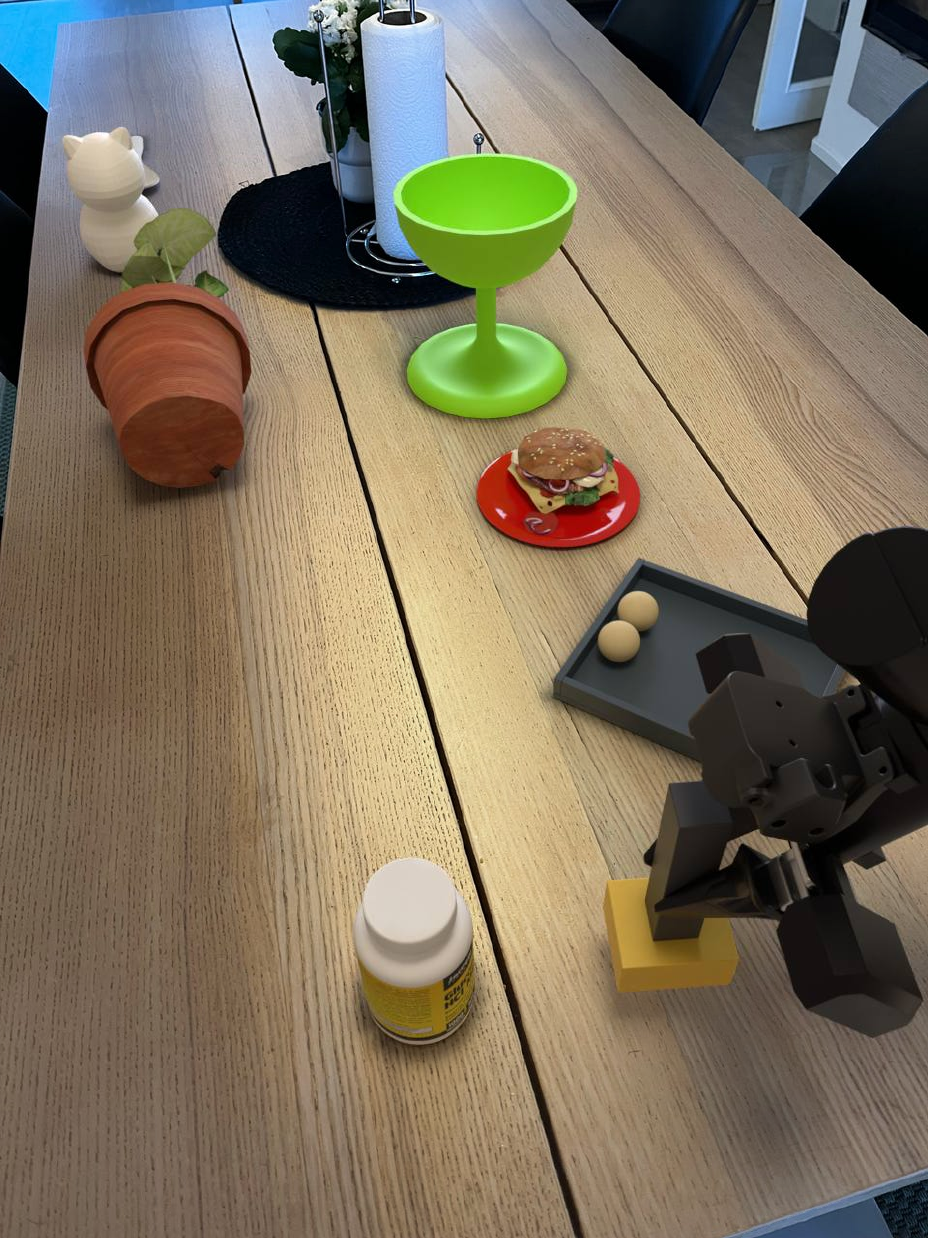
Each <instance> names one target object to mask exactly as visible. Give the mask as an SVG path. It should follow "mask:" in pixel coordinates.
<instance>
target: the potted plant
mask: <svg viewBox="0 0 928 1238" xmlns="http://www.w3.org/2000/svg"><path fill="white" fill-rule="evenodd" d="M216 234H217V233H216V230H215V228H214V226H213V225H212V224H211V223H210V221H209V219H208V218H207V217H206V216H204V215H202V214H201V213H199V212H198V211H196V210H193V209H190V208H187V207H179V208H170V209H169V210H167V211H166V212H164V213H161V214H158V216H157V217H156V218H155V219H154V220H153V221H151V222H148V223H146V224H145V225H144V226H143V227H142V228H141V229H140V230H139V232H138V234H137V235H136V238H134V245H135V247H136V248H137V251H136V252H135V253H134V254H133V255H132V257H131V258H130V259H129V261H128V262H127V264H126V266H125V268H124V270H123V272H121V276H122V277H121V278H122V279H120V285H119V293H117V294H116V295H115V296H113V298H111V299H110V300H108V302H106V303H104V304H103V305H102V306H101V307H99V309H98V310H97V312H96V313H95V315H94V316H93V318H92V320H91V321H90V323H89V324H88V326H87V328H86V333H85V338H84V343H83V355H84V362H85V369H86V373H87V377H88V378H87V379H88V382H89V387H90V389H91V391H92V392H93V394H94V395H95V397H96V399H98V401H99V403H100V404H101V406H102V407H103V408H105V410H107V411H108V414H109V419H110V421H111V424H112V427H113V430H114V433H115V437H116V439H117V443H118V446H119V448H120V452H121V455H122V457H123V459H124V460H125V462H126V463H127V465H128V466H129V467H130V468H131V470H132V471H133V472H134V473H136V474H138V475H139V476H140V477H141V478H143V479H144V480H146V481H149V482H151V483H154V484H157V485H160V486H162V487H169V488H171V487H172V488H181V489H183V488H190V487H191V488H192V487H199V486H202V485H206V484H210V483H213V482H216V481H218V479H219V477H220V475H221V473H222V472H223V471H229V472H231V470H233V468H234V467H235V466H236V464H237V463H238V461H239V460H240V459H241V456H242V452H243V449H244V446H245V422H244V420H245V419H244V418H245V417H244V395H245V393H246V391H247V388H248V385H249V382H250V378H251V375H252V364H251V351H250V346H249V342H248V341H249V340H248V336H247V333H246V331H245V328H244V327H243V325H242V323H241V321H240V319H239V316H238V315H237V314H236V313H235V311H234V310H232V308H230V307H229V306H228V305H227V304H226V303H225V302H224V300H222V299H221V298H222V297H224V296H225V294H226V293H229V292H230V289H229V287H228V285H226V284H225V283H224V282H223V281H221V280H220V279H218V278H217V277H215V276H213V275H211V274H210V273H209V272H208V269H206V270H203V271H201V272H200V273H198V274H197V276H196V277H195V279H194V285H190V284H182V283H177V280H178V279H179V277H180V276H181V274H182V273H183V271H184V270H185V269H186V268H187V267H186V266H187V265H188V263H189V262H190V260H191V259H192V258H193V257H195V256H196V255H198V253H200V252H201V251H202V250H203V249H204V248H205V247H206V246H207V245H208V244H210V242H212V241H213V240H215V237H216Z"/></svg>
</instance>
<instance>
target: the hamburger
mask: <svg viewBox="0 0 928 1238" xmlns="http://www.w3.org/2000/svg"><path fill="white" fill-rule="evenodd" d="M476 499H477V503H478V506H479V508H480V510H481V512H482V514H483V516H485V518H486V519H487V520H488V521H489V523H491V524H492V525H493V526H494V527H495V528H497V529H498V530H499V531H501V532H502V533H504V534H506V535H508V536H510V537H511V538H513V539H516V540H519V541H522V542H525V543H528V544H532V545H537V546H542V547H549V548H550V547H551V548H571V547H572V548H573V547H581V546H586V545H589V544H594V543H597V542H600V541H604V540H606V539H608V538H611V537H612V536H613V535H616V534H617V533H619V532H621V530H623V529H624V528H625V527H627V526H628V525H629V524H630V523H631V521H632V520H633V519H634V517H635V516H636V514H637V512H638V510H639V507H640V504H641V490H640V486H639V483H638V481H637V479H636V477H635V475H634V474H633V473H632V472H631V470H630V469H629V468H628V467H627V466H626V465H625V464H624V463H623V462H621V461H620V460H619V459H617V458H615V457H614V454H613V453H612V452H611V451H610V450H609V449H608V448H606V447H605V446H604V445H603V444H602V443H601V442H600V440H599V439H598V438H596V436H594V435H593V434H592V433H590V432H588V431H587V429H578V428H566V427H565V428H564V427H556V426H553V427H544V428H541V429H538V430H537V429H536V430H534V431H533V432H530V433H528V434H527V435H524V437H523V439H522V440H521V442H520V444H519V446H518V448H515V449H513V450H510V451H508V452H506V453H504V454H502V455H501V456H499V457H498V458H496V459H495V460H493V461H492V462H491V463H490V464H489V465H488V466H487V467H486V468H485V470H484V471H483V472H482V474H481V476H480V477H479V479H478V483H477V487H476Z"/></svg>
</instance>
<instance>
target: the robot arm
mask: <svg viewBox="0 0 928 1238" xmlns="http://www.w3.org/2000/svg"><path fill="white" fill-rule="evenodd" d="M805 616H806V620H807V624H808V630H809V633H810V636H811V638H812V640H813V641H814V643H815V644H816V645H817V647H818V648H819V649H820V651H821V652H822V653H824V654H825V655H826V656H828V657H829V658H830V659H831V660H833V661H834V662H835V663H836V664H838V665H839V666H840V667H842V668H843V669H844V670H845V672H847V673H848V675H850V676H852V678H854V679H855V680H857V681H858V682H859V684H858V685H856V684H849V685H847V686H846V687H844V688H842V689H840V690H839V691H836V693H834V694H830V695H826V696H821V697H817V696H814V695H812V694H811V693H809V692H808V691H807V690H806V689H805V686H804V683H803V681H802V678H801V675H800V673H799V670H798V669H797V668H796V667H794V666H793V665H792V664H790V663H789V662H788V661H786V660H785V659H784V658H782V657H781V656H780V655H778V654H777V653H776V652H774V651H773V650H772V649H770V648H769V647H768V646H766V645H765V644H764V643H762V642H761V641H760V640H758V639H757V638H756V637H754V636H753V635H751V634H750V633H735V634H724V635H723V636H721V637H720V638H718V639H717V640H715V641H713V642H712V643H710V644H709V645H707V646H706V647H704V648H703V649H701V650H699V651H698V652H697V653H696V654H695V655H696V658H697V661H698V665H699V668H700V672H701V675H702V679H703V682H704V685H705V689H706V692H707V693H708V694H709V695H710V696H709V697H708V698H707V699H706V700H705V701H704V702H703V703H702V705H701V706H700V707H699V708H698V709H697V710H696V711H695V712H694V713H693V714H692V715H691V716H690V718H689V720H688V727H689V731H690V734H691V736H692V737H694V738H695V741H696V745H697V749H698V752H699V756H700V760H701V762H700V763H701V774H700V775H701V781H703V783H704V786H705V788H706V790H707V791H708V793H709V794H710V795H711V797H712V798H713V799H715V800H716V801H717V802H719V803H720V804H722V805H725V806H727V807H729V811H730V814H731V818H732V821H733V826H732V829H731V832H730V836H729V839H728V842H727V843H730V842H732V841H734V840H736V839H739V838H741V837H743V836H746V835H748V834H751V833H753V832H756V831H759V834H760V836H764V837H766V838H771V839H776V840H781V841H786V842H787V844H788V847H789V849H788V850H786V851H784V852H782V853H781V854H778V855H776V856H774V857H773V858H771V857H769V856H767V855H765V854H764V853H762V852H760V851H758V850H756V849H754V848H753V847H751V846H749V845H748V844H745V843H744V842H742V843H740V845H739V846H738V849H737V851H736V853H735V855H734V858H733V860H732V862H730V864H729V865H727V866H725V867H723V868H721V869H719V871H716V872H714V873H712V874H710V875H708V876H706V877H704V878H701V879H699V880H697V881H695V882H693V883H691V884H689V885H687V886H684V887H682V888H680V889H678V890H676V891H674V892H672V893H670V894H669V895H667V896H666V897H664V898H663V899H661V900H660V901H658V902H657V903H655V904H654V906H653V908H654V912H655V913H656V914H658V915H660V916H662V917H664V918H728V919H760V920H770V921H777V922H778V925H777V927H776V930H775V933H776V935H777V936H776V937H777V939H778V942H779V945H780V950H781V952H782V956H783V959H784V964H785V967H786V970H787V974H788V977H789V980H790V984H791V987H792V990H793V993H794V995H795V996H796V997H797V999H798V1000H799V1002H800V1003H801V1005H802V1006H803V1008H804V1009H805V1010H806V1011H808V1012H811V1013H813V1014H816V1015H818V1016H820V1017H822V1018H825V1019H827V1020H829V1021H831V1022H834V1023H836V1024H839V1025H841V1026H843V1027H845V1028H847V1029H851V1030H853V1031H854V1032H858V1033H859V1034H862V1035H865V1036H866V1037H868V1038H871V1039H874V1038H877V1037H880V1036H883V1035H885V1034H888V1033H891V1032H893V1031H894V1032H895V1031H897V1030H899V1029H902V1028H905V1027H907V1026H909V1024H910V1023H911V1021H913V1019H914V1017H915V1016H916V1014H917V1012H918V1010H919V1009H920V1007H921V1006H922V1004H923V1002H925V1001H924V997H923V994H922V992H921V990H920V987H919V984H918V982H917V979H916V976H915V974H914V972H913V968H912V966H911V964H910V961H909V958H908V955H907V953H906V949H905V947H904V945H903V942H902V939H901V937H900V935H899V931H898V929H897V927H896V924H895V923H894V922H893V921H890V920H889V919H887V918H885V917H884V916H882V915H880V914H878V913H876V912H875V911H873V910H872V909H869V908H868V907H865V906H864V905H862V904H860V901H859V899H858V896H857V893H856V891H855V888H854V885H853V882H852V880H851V878H850V876H849V875H848V872H847V871H846V869H845V866H844V865H846V864H848V863H851V862H853V863H855V864H856V865H858V866H859V867H861V868H862V869H865V870H866V871H868V870H870V869H872V868H874V867H876V866H878V865H881V864H883V863H886V862H887V858H886V856H885V852H884V850H883V849H882V847H884V846H886V845H889V844H890V843H893V842H895V841H897V840H899V839H901V838H904V837H905V836H908V835H910V834H913V833H914V832H916V831H918V830H920V829H923V828H924V827H926V826H928V528H924V527H921V526H912V525H911V526H909V525H902V526H895V527H887V528H884V529H881V530H879V531H876V532H872V533H871V532H864V533H862V534H860V535H858V536H857V537H855V538H853V539H852V540H850V541H849V542H848V543H847V544H846V543H845V545H844V546H842V547H841V548H840V549H839V550H838V551H836V552H835V553H834V554H833V556H832V557H831V558H830V559H828V561H827V562H826V564H824V566H823V567H822V569H821V571H820V572H819V574H818V575H817V577H816V579H815V580H814V582H813V585H812V587H811V589H810V593H809V596H808V599H807V606H806V615H805ZM656 843H657V838H656V839H655V840H654V841H653V842H652V844H651V845H650V846H649V847H648V848H647V850H646V851H645V852H644V854H643V855H642V858H643V863H644V865H646V866H648V867H649V868H651V867H652V862H653V858H654V853H655V848H656Z"/></svg>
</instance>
